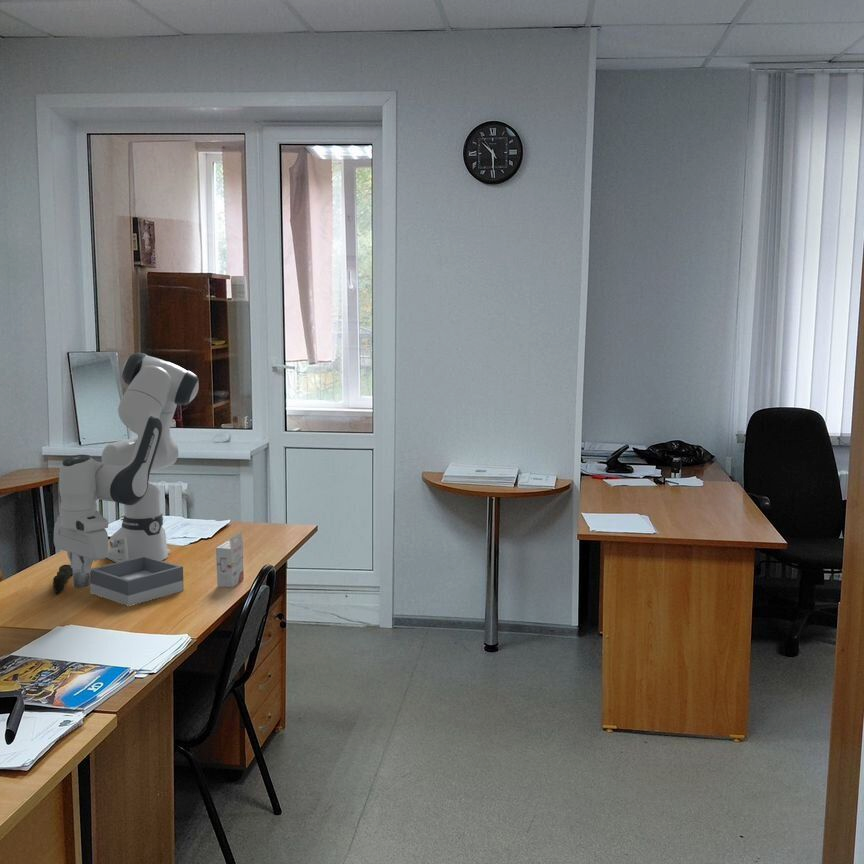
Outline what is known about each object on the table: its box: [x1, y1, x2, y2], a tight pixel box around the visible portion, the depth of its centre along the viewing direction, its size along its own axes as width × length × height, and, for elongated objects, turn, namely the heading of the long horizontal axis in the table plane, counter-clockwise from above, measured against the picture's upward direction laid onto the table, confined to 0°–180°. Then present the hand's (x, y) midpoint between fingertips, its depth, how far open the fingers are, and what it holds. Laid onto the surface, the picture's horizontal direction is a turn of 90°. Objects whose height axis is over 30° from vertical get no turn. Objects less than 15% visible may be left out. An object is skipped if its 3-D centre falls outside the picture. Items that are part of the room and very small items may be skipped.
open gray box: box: [89, 556, 185, 607], centre depth 255 cm, size 18×18×7 cm
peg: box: [72, 553, 90, 589], centre depth 235 cm, size 4×4×9 cm
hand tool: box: [52, 564, 73, 596], centre depth 260 cm, size 19×4×5 cm, turn 11°
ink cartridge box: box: [215, 531, 244, 588], centre depth 264 cm, size 9×5×15 cm, turn 168°
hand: (81, 570), depth 235 cm, fingers closed on peg, 4 cm apart
